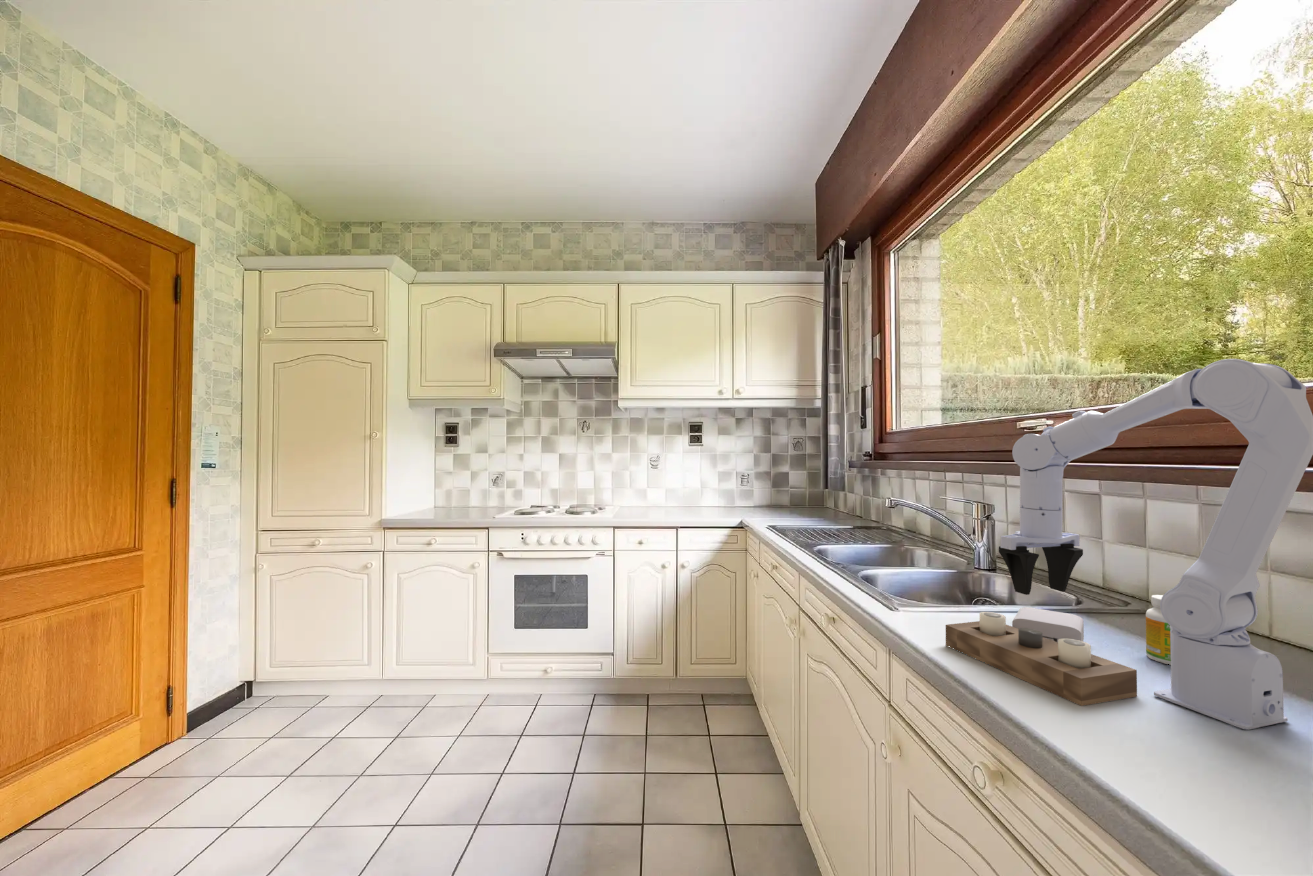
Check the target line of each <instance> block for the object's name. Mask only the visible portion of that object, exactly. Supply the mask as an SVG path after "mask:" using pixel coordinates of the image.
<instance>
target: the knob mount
mask: <svg viewBox="0 0 1313 876" xmlns="http://www.w3.org/2000/svg"><path fill="white" fill-rule="evenodd" d="M946 645H947V646H950V647H951V648H950V647H949V648H950V649H952V648H954V649H955V650H954V649H953V650H954V651H956V650H958V651H957V652H959V651H960V652H959V653H961V652H963V653H964V654H963V653H962V654H963V655H965V654H967V655H966V656H967V657H970V656H971V657H970V658H972V657H973V659H974V658H976V659H975V660H977V661H979V660H980V661H979V662H981V661H982V662H981V663H983V662H985V663H984V664H985V665H988V664H989V665H988V666H991V667H992V666H993V668H995V669H997V668H998V669H997V670H999V669H1000V671H1001V670H1002V672H1004V673H1006V674H1008V673H1009V674H1008V675H1011V676H1013V677H1015V678H1016V679H1017V678H1018V679H1020V680H1022V681H1024V682H1027V683H1029V684H1031V685H1033V686H1036V687H1038V688H1040V689H1043V690H1044V691H1047V692H1049V693H1052V694H1054V695H1056V696H1058V697H1060V698H1063V699H1065V700H1067V701H1069V702H1072V703H1074V704H1076V705H1078V706H1081V707H1085V706H1089V705H1095V704H1101V703H1107V702H1112V701H1119V700H1125V699H1130V698H1135V697H1138V674H1137V673H1138V672H1137V671H1138V670H1137V669H1135V668H1132V667H1130V666H1127V665H1124V664H1121V663H1118V662H1115V661H1113V660H1109V659H1107V658H1103V657H1101V656H1097V655H1095V654H1092V653H1091V667H1090V668H1083V669H1077V668H1075V667H1072V666H1070V665H1067V664H1064V663H1062V662H1059V661H1058V642H1055V641H1052V640H1049V639H1046V638H1044V637H1043V647H1042V648H1029V647H1025V646H1022V645H1020V644H1019V643H1018V628H1015V627H1012V626H1011V625H1009V624H1006V635H1003V636H995V637H994V636H991V635H988V634H986V633H983V632H980V620H977V621H970V622H969V621H968V622H959V623H951V624H950V623H948V624H945V646H946ZM947 646H946V647H947Z"/></svg>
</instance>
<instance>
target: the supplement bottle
mask: <svg viewBox="0 0 1313 876" xmlns="http://www.w3.org/2000/svg"><path fill="white" fill-rule="evenodd" d="M1163 595H1164V594H1152V595H1151V596H1150V597H1151V599H1150V603H1151V606H1152V608H1148V609H1147V610H1146V612H1145V651H1146V652H1145V653H1146V656H1147V658H1149V659H1151V660H1153V661H1156V662H1158V663H1161V664H1166V665H1168V664H1169V666H1171V640H1170V630H1171V629H1170V625H1169V624H1168V623H1167V622H1166V620H1165V619H1164V617H1163V615H1162V613H1161V609H1160V602H1161V599H1162V597H1163Z"/></svg>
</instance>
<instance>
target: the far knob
mask: <svg viewBox="0 0 1313 876" xmlns="http://www.w3.org/2000/svg"><path fill="white" fill-rule="evenodd" d="M979 621H980V632H983V633H986V634H988V635H991V636H994V637H995V636H1003V635H1006V625H1007V623H1006V622H1007V618H1006V615H1003V614H1002V613H996V612H991V611H981V612H979Z"/></svg>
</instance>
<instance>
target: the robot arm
mask: <svg viewBox="0 0 1313 876" xmlns="http://www.w3.org/2000/svg"><path fill="white" fill-rule="evenodd" d="M1189 409H1191V410H1195V409H1197V410H1199V409H1201V410H1202V409H1206V410H1207V409H1208V410H1211V411H1213V412H1215V413H1216V414H1218V415H1220V416H1222V417H1224V418H1225V419H1227V420H1228V421H1230V423H1232V425H1233V426H1234V427H1235V428H1236V430H1238V431H1239V432H1240V434H1242V436H1244V438H1245V439H1246V440H1247V441H1248V446H1247V448H1246V450H1245V452H1244V454H1243V457H1242V459H1241V461H1240V464H1239V465H1238V469H1237V470H1236V472H1235V474H1234V478H1233V480H1232V482H1231V485H1230V486H1229V489H1228V490H1227V493H1226V495H1225V498H1224V500H1223V501H1222V504H1221V507H1220V508H1219V511H1218V513H1217V515H1216V518H1215V521H1214V522H1213V525H1212V527H1211V529H1210V532H1209V534H1208V536H1207V538H1206V541H1205V543H1204V545H1203V546H1202V547H1203V548H1202V550H1201V552H1200V554H1199V557H1198V558H1197V559H1196V561H1195V562H1194V563H1192V564H1191V566H1189V567H1188V568H1187V570H1186V571H1184V573H1182V575H1181V578H1180V580H1179V582H1178V583H1177V584H1176V585H1175V586H1174V587H1173V588H1170V589H1168V590H1167V591H1166V592H1165V593H1164V594H1162V595H1163V597H1162V599H1161V602H1160V609H1161V613H1162V615H1163V617H1164V619H1165V620H1166V622H1167V623H1168V624H1169V625H1170V629H1171V630H1170V640H1171V665H1170V681H1171V682H1170V686H1171V687H1170V688H1167V689H1161V690H1155V691H1153V695H1154V696H1155V697H1157V698H1160V699H1162V700H1165V701H1168V702H1170V703H1173V704H1176V705H1179V706H1181V707H1184V708H1187V709H1188V710H1192V711H1195V712H1197V713H1200V714H1202V715H1205V716H1207V717H1210V718H1213V719H1215V720H1219V721H1221V722H1224V723H1226V724H1229V725H1232V726H1235V727H1237V728H1240V729H1243V730H1252V729H1257V728H1262V727H1266V726H1271V725H1275V724H1281V723H1285V722H1288V721H1289V719H1288V717H1287V716H1286V715H1284V714H1285V713H1284V712H1285V711H1284V675H1283V674H1284V671H1283V667H1282V664H1281V661H1280V659H1279V658H1278V657H1277V656H1276V655H1275V654H1273V653H1271V652H1269V651H1265V650H1263V649H1259V648H1257V647H1256V646H1254V645H1253V644H1251V638H1250V636H1249V633H1248V631H1247V627H1250V626H1251V625H1252V624H1253V623H1255V621H1256V620H1257V617H1258V615H1259V611H1258V609H1259V608H1258V604H1257V599H1256V596H1257V592H1258V590H1259V587H1260V582H1259V578H1258V576H1257V572H1258V571H1259V568H1260V567H1261V564H1262V562H1263V560H1264V559H1265V555H1266V554H1267V552H1268V549H1270V546H1271V543H1272V542H1273V539H1274V537H1275V535H1276V533H1277V531H1278V529H1279V526H1280V525H1281V522H1282V520H1283V518H1284V516H1285V514H1286V512H1287V510H1288V508H1289V506H1290V503H1291V501H1292V500H1293V497H1294V494H1296V491H1297V488H1298V487H1299V485H1300V483H1301V480H1302V478H1303V476H1304V473H1305V471H1306V470H1307V468H1308V466H1309V464H1310V461H1311V459H1312V458H1313V413H1312V410H1311V407H1310V404H1309V402H1308V399H1307V387H1306V385H1304V383H1303V382H1301V381H1300V380H1299V379H1297V378H1296V377H1295V376H1294V375H1293V374H1292V373H1291V372H1289V371H1288V370H1286V368H1284V367H1281V366H1278V365H1277V364H1271V363H1257V362H1250V361H1247V360H1245V359H1241V358H1240V359H1239V358H1225V359H1220V360H1217V361H1214V362H1212V363H1209V364H1207V365H1206V366H1204V367H1202V368H1196V369H1193V370H1190V371H1187V372H1185V373H1183V374H1181V375H1180V376H1178V377H1176V378H1173V379H1171V380H1170V381H1168V382H1165V383H1164V384H1162V385H1160V386H1158V387H1156V388H1154V389H1152V390H1149V391H1148V392H1146V393H1143V394H1141V395H1139V396H1137V397H1135V398H1133V399H1131V400H1129V401H1127V402H1125V403H1123V404H1120V405H1119V406H1117V407H1115V408H1113V409H1110V410H1108V411H1107V412H1104V413H1103V412H1099V411H1095V410H1089V411H1085V410H1079V411H1076V412H1074V413H1072V415H1071V416H1072V418H1071V419H1068V420H1066V421H1064V422H1062V423H1059V424H1058V425H1055V426H1046V427H1044V428H1043V429H1042V433H1041V434H1036V433H1026V434H1024V435H1023V436H1021V437H1020V438H1018V439H1017V440H1016V441H1015V443H1014V445H1013V446H1012V450H1011V451H1012V459H1013V460H1014V463H1015V464H1016V465H1017V466H1018V467H1019V530H1017V531H1015V530H1014V533H1011V534H1008V535H1000V546H998V553H999V555H1000V556H1001V557H1002V559H1003V561H1004V562H1005V564H1006V568H1007V569H1008V572H1009V574H1010V578H1011V581H1012V585H1013V589H1014V592H1016V593H1017V594H1018V593H1019V594H1022V595H1025V596H1029V595H1030V594H1031V590H1032V583H1033V575H1034V569H1035V566H1036V562H1038V560H1039V557H1040V554H1039V553H1035V552H1030V550H1029V549H1031V548H1033V549H1034V548H1041V549H1042V551H1043V554H1044V557H1045V560H1046V565H1047V566H1046V567H1047V572H1048V573H1047V574H1048V575H1047V576H1048V584H1049V587H1050V589H1051V590H1055V591H1059V592H1063V593H1064V592H1066V590H1067V587H1068V584H1069V581H1070V579H1071V575H1072V573H1073V570H1074V568H1075V566H1076V565H1077V563H1078V562H1079V560H1080V559H1081V558H1082V557H1083V556H1084V549H1083V548H1079V547H1080V541H1081V540H1080V534H1078V533H1072V532H1063V513H1064V512H1063V507H1064V506H1063V504H1064V503H1063V494H1064V491H1063V489H1064V488H1063V487H1064V486H1063V485H1064V484H1063V482H1064V481H1063V480H1064V470H1065V468H1066V467H1067V465H1068V464H1069V463H1070V462H1071V461H1073V460H1077V459H1079V458H1082V457H1083V456H1086V455H1089V454H1091V453H1094V452H1097V451H1099V450H1102V449H1105V448H1107V447H1109V446H1112V445H1113V444H1115V442H1116V440H1117V438H1118V436H1119V434H1120V433H1121V432H1123V431H1127V430H1129V429H1132V428H1135V427H1137V426H1140V425H1142V424H1146V423H1149V422H1151V421H1154V420H1157V419H1159V418H1163V417H1165V416H1167V415H1170V414H1171V415H1172V414H1173V413H1176V412H1179V411H1181V410H1189Z"/></svg>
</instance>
